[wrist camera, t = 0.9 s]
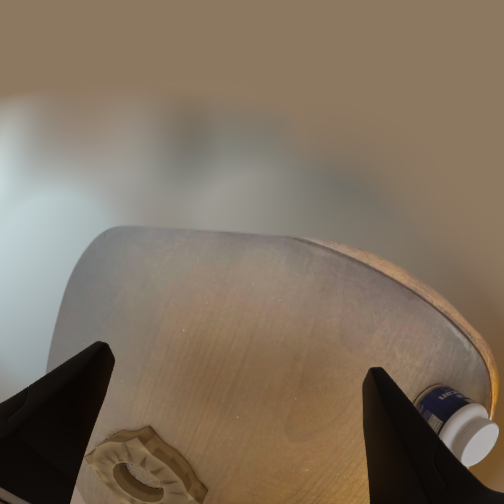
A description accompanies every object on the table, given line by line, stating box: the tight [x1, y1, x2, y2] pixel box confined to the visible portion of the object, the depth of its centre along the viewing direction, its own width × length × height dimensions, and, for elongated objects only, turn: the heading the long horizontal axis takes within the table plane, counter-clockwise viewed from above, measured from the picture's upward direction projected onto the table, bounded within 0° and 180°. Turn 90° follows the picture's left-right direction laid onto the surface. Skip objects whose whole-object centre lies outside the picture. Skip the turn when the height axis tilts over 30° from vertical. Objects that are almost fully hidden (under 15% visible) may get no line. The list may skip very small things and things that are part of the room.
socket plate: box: [84, 425, 207, 504], centre depth 21 cm, size 11×11×3 cm
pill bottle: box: [414, 384, 499, 466], centre depth 16 cm, size 5×5×10 cm
